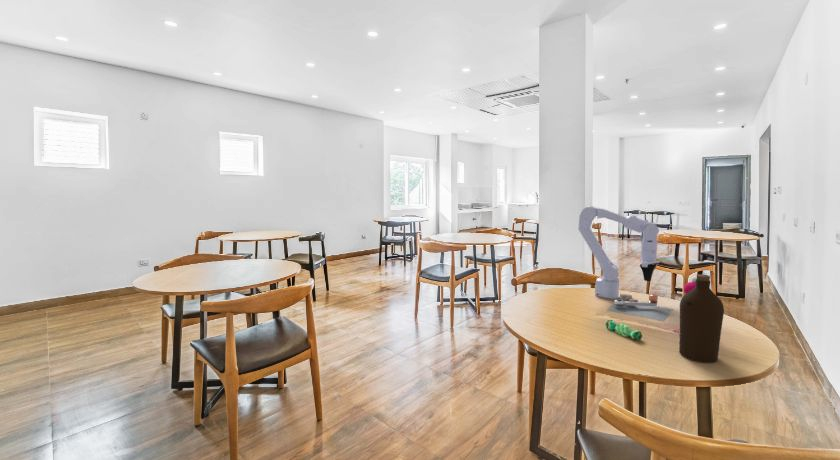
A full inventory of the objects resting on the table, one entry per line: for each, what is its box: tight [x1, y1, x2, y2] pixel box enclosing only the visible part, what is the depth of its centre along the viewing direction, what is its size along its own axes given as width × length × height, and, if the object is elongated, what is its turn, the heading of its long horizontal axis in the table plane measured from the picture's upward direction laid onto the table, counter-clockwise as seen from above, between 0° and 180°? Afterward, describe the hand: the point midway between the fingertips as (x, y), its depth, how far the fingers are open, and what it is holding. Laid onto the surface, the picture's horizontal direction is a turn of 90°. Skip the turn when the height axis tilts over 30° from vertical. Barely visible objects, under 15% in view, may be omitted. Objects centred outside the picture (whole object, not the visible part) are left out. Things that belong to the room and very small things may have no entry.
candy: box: [605, 319, 643, 341], centre depth 131 cm, size 12×3×4 cm
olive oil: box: [678, 273, 725, 364], centre depth 112 cm, size 11×11×25 cm
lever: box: [613, 293, 659, 307], centre depth 155 cm, size 16×4×4 cm, turn 82°
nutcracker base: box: [606, 293, 674, 322], centre depth 153 cm, size 20×18×5 cm
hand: (647, 280), depth 165 cm, fingers closed
